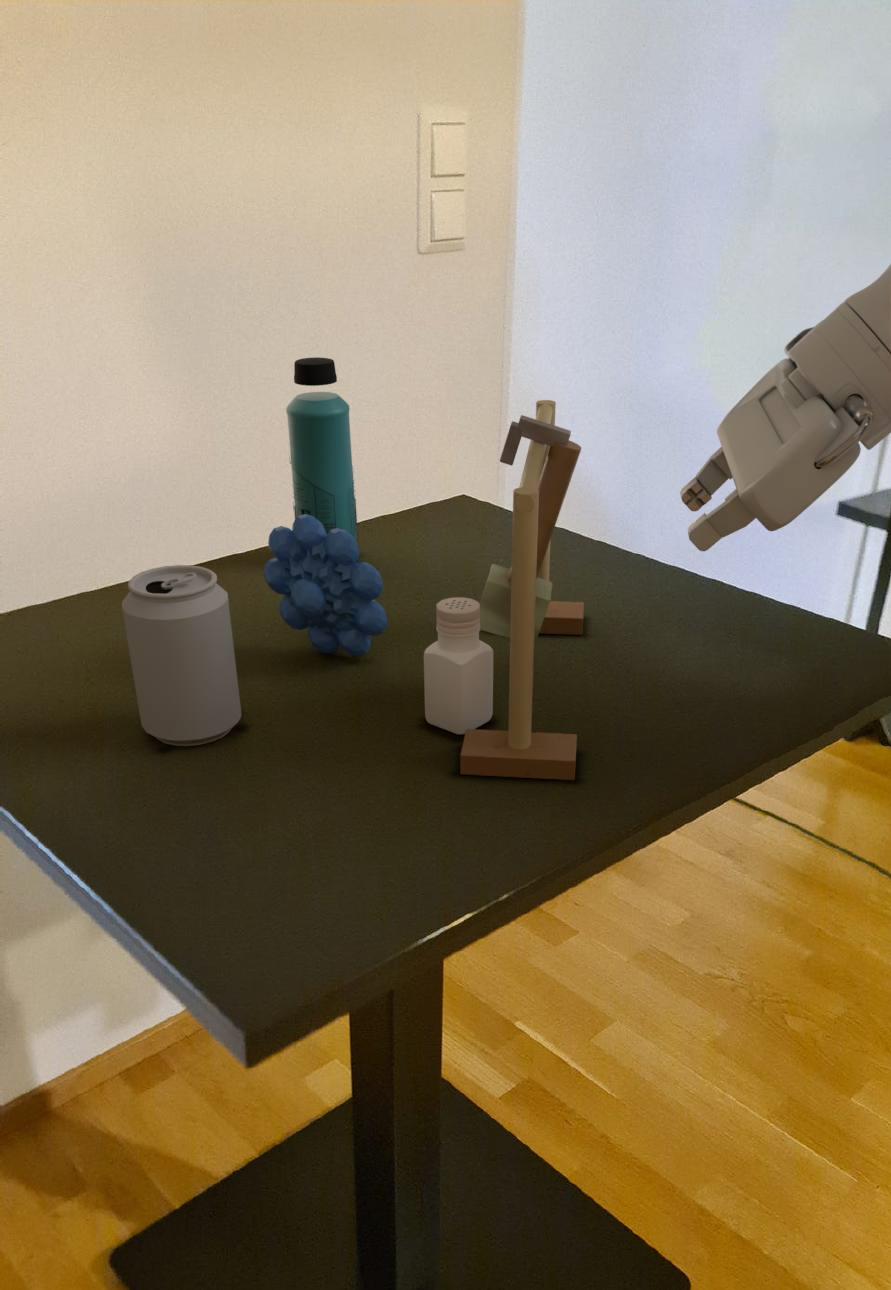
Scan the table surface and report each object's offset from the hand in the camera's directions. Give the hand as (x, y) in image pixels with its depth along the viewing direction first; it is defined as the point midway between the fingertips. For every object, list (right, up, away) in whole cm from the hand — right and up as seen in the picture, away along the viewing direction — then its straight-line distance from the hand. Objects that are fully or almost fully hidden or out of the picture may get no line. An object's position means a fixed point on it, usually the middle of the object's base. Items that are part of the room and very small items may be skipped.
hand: (689, 521), depth 83 cm
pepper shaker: (-17, -15, +3) cm, 23 cm away
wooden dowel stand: (-11, -11, +8) cm, 18 cm away
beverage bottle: (-30, +4, +36) cm, 47 cm away
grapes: (-28, -8, +14) cm, 33 cm away
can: (-37, -15, +3) cm, 40 cm away
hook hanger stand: (-13, -7, +6) cm, 16 cm away
